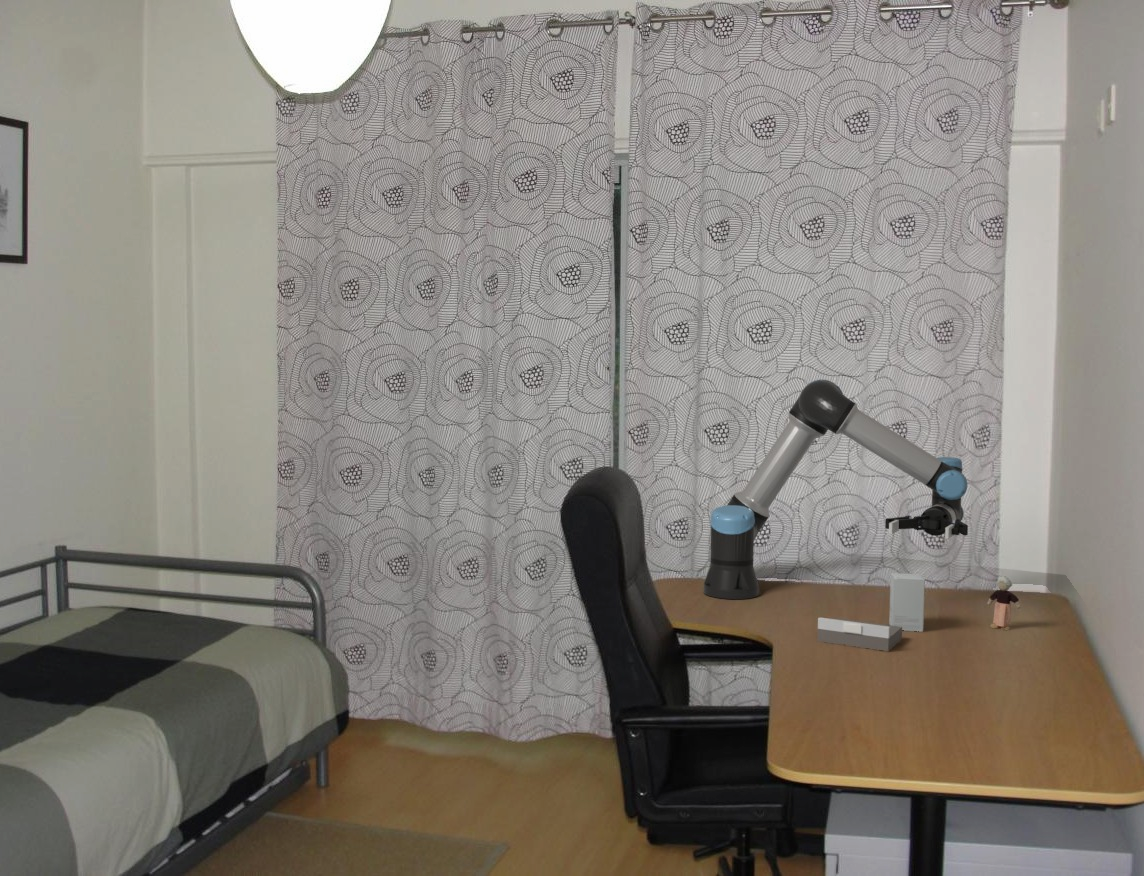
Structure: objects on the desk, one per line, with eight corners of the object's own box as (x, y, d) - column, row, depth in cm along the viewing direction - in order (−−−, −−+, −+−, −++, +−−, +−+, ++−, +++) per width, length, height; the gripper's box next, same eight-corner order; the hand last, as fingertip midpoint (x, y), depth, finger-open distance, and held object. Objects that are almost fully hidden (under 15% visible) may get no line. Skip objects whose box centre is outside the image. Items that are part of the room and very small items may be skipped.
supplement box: (923, 632, 257) (925, 579, 256) (891, 630, 258) (892, 578, 257) (920, 624, 264) (922, 573, 263) (888, 623, 266) (890, 572, 265)
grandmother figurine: (984, 628, 261) (986, 576, 260) (986, 624, 265) (988, 573, 264) (1019, 632, 258) (1021, 579, 257) (1020, 628, 261) (1022, 576, 260)
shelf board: (816, 641, 247) (817, 618, 247) (833, 630, 258) (834, 607, 258) (887, 652, 239) (888, 628, 239) (901, 639, 250) (902, 616, 250)
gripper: (987, 538, 280) (970, 550, 262) (889, 530, 293) (867, 541, 274) (988, 509, 279) (971, 519, 261) (890, 502, 292) (868, 512, 274)
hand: (918, 531), depth 268 cm, fingers open, 13 cm apart
